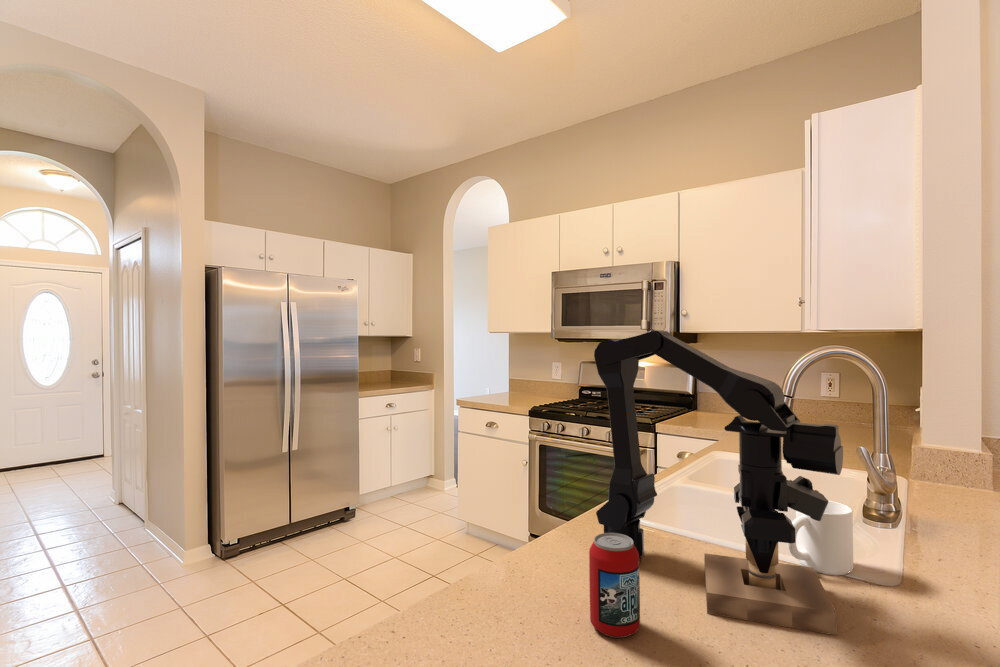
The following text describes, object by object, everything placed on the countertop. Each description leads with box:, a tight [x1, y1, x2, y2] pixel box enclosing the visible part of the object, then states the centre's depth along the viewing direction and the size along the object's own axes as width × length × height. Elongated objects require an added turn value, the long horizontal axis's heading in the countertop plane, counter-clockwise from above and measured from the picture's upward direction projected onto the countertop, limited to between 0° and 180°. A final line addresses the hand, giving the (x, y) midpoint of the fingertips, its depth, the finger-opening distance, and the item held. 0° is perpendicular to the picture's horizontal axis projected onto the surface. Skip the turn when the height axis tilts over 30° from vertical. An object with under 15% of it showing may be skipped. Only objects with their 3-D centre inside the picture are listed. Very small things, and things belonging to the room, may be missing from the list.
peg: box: [745, 539, 779, 589], centre depth 76 cm, size 4×4×10 cm
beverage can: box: [588, 532, 641, 639], centre depth 69 cm, size 7×7×12 cm
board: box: [703, 553, 838, 636], centre depth 76 cm, size 16×14×3 cm
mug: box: [786, 499, 854, 576], centre depth 87 cm, size 12×8×10 cm
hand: (761, 566), depth 76 cm, fingers closed on peg, 4 cm apart
